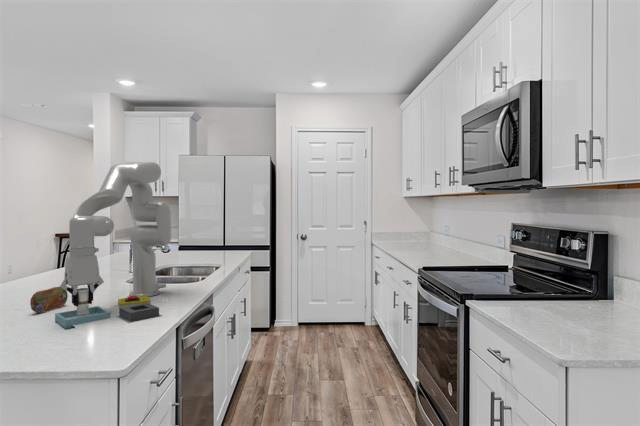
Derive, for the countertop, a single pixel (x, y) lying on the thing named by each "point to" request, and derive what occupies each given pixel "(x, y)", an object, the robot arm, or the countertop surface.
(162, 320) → the countertop surface
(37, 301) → the tin
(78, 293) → the fuse
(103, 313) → the parts tray
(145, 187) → the robot arm
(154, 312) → the fuse panel
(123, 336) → the countertop surface
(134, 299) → the emergency button
